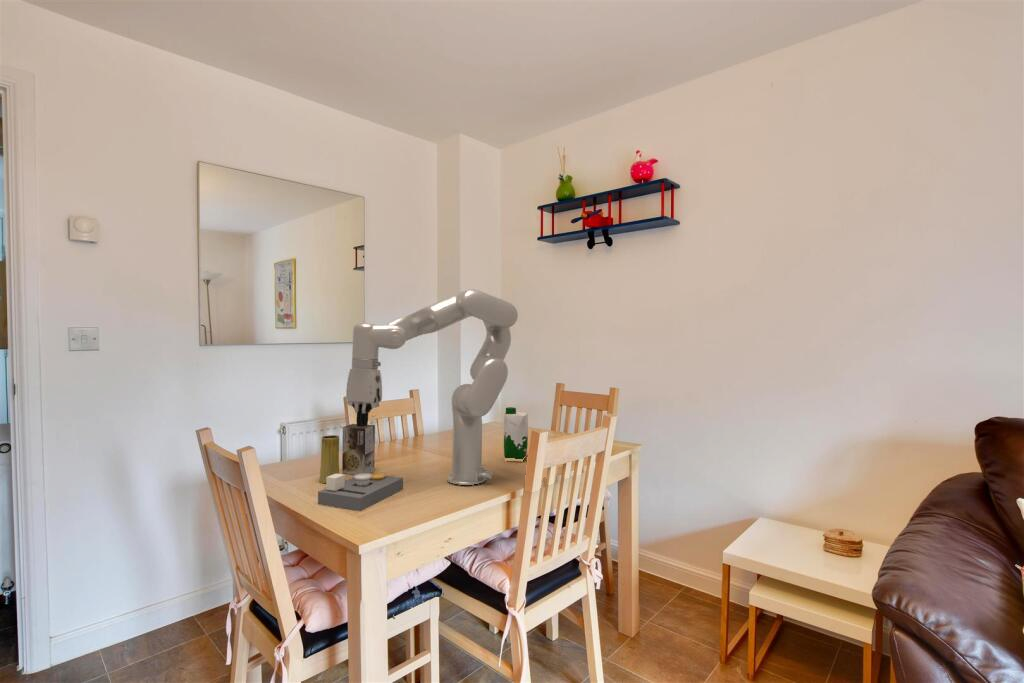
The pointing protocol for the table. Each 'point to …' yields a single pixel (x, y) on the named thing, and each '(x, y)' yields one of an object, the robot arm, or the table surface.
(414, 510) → the table surface
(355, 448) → the coffee box
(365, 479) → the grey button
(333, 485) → the white block
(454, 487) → the table surface
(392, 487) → the panel
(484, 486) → the table surface
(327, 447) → the vase
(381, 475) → the amber button
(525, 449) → the milk carton
